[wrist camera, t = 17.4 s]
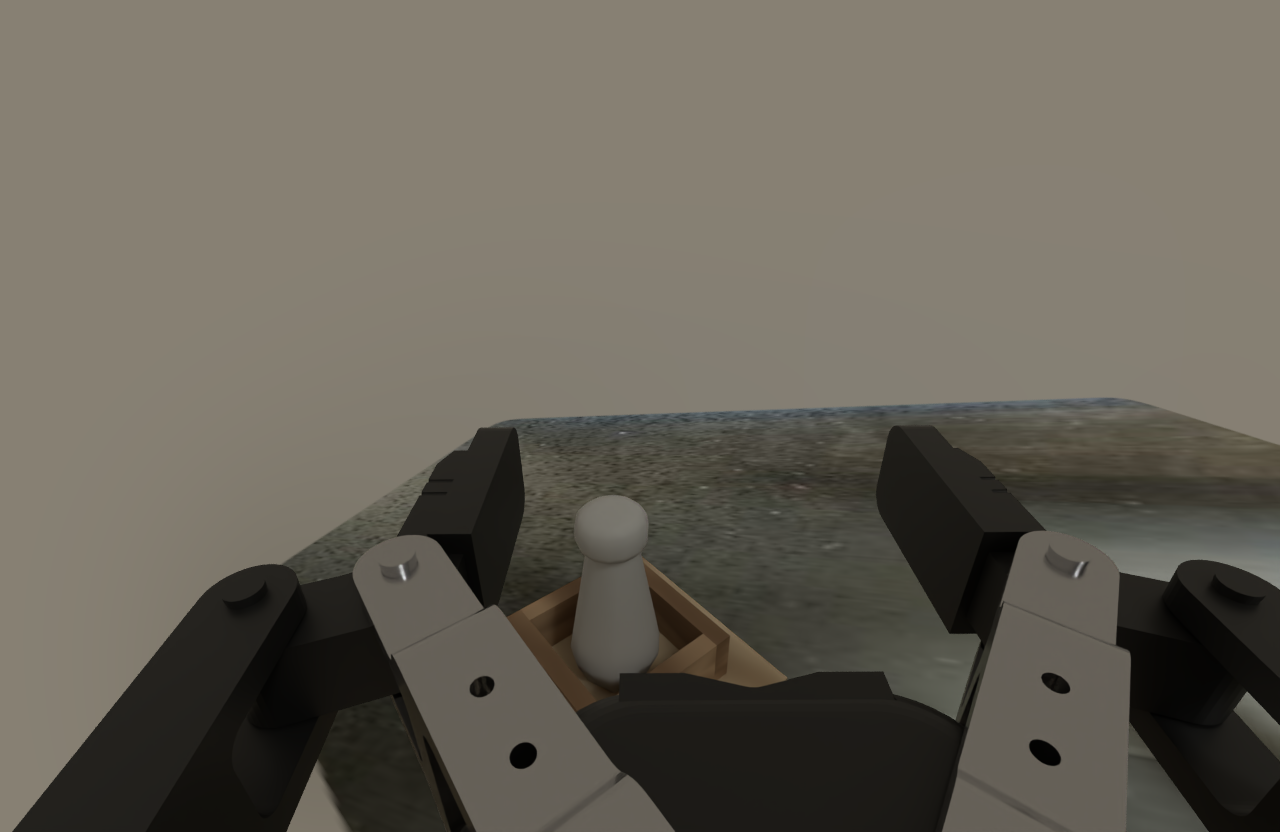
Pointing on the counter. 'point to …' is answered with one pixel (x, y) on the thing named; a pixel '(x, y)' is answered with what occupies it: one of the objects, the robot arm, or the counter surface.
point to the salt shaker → (613, 593)
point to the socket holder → (683, 641)
